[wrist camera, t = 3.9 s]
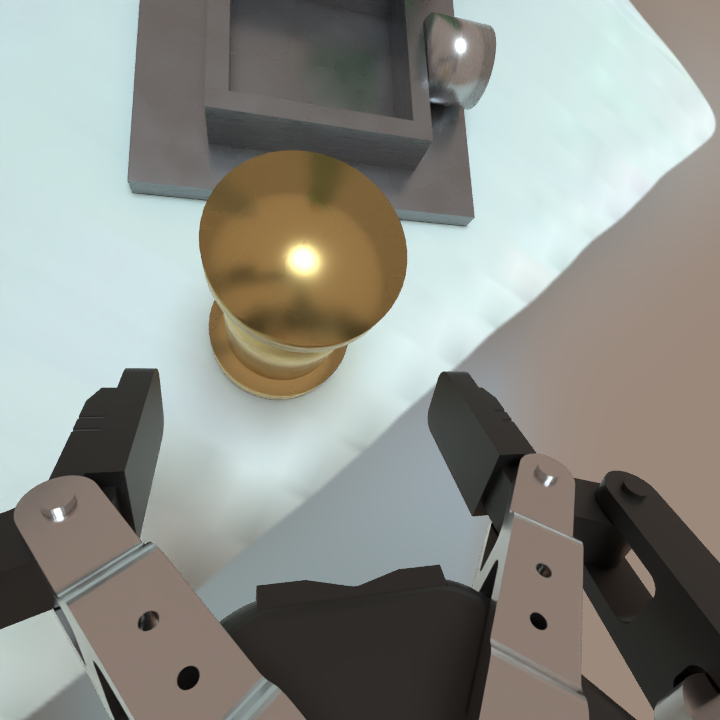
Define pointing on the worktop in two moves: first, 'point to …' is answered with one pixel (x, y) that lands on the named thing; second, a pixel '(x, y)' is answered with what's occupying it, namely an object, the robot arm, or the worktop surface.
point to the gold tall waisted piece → (296, 268)
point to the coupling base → (310, 94)
